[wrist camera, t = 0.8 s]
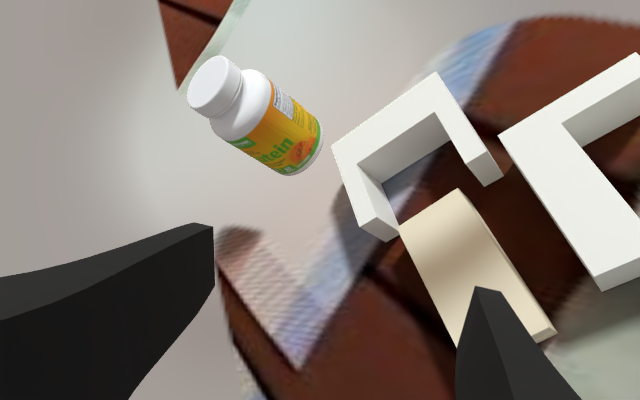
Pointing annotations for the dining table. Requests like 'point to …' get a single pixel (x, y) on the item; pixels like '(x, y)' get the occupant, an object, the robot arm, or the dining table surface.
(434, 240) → the beige rectangular block
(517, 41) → the dining table surface
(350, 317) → the dining table surface
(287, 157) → the supplement bottle
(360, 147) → the end cap
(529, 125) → the white u-shaped block
